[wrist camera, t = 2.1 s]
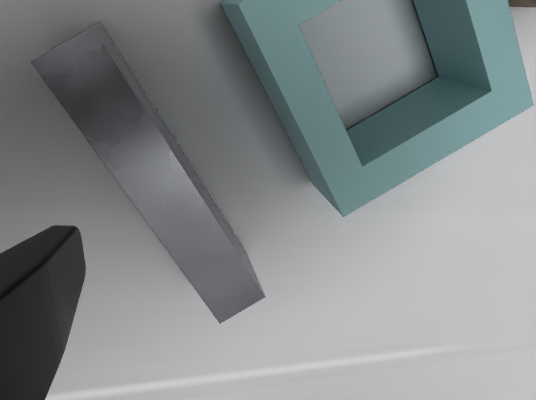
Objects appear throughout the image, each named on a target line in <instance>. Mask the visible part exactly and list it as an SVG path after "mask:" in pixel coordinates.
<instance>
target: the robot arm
mask: <svg viewBox="0 0 536 400" xmlns="http://www.w3.org/2000/svg"><path fill="white" fill-rule="evenodd" d="M85 271H86V266H85V259H84V252H83V245H82V239H81V233H80V231H79V229H78V228H77V227H76V226H60V225H55V226H52V227H50V228H48V229H46V230H44V231H42V232H40V233H38V234H36V235H34V236H33V237H31V238H29V239H27V240H25V241H23V242H21V243H19V244H17V245H15V246H14V247H12V248H10V249H8V250H6V251H4V252H2V253H0V400H45V398H46V396H47V394H48V391H49V389H50V386H51V384H52V381H53V379H54V376H55V374H56V372H57V369H58V367H59V364H60V362H61V359H62V356H63V354H64V351H65V347H66V344H67V341H68V337H69V334H70V330H71V326H72V323H73V319H74V315H75V312H76V308H77V304H78V301H79V297H80V293H81V290H82V286H83V282H84V278H85Z"/></svg>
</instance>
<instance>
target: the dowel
mask: <svg viewBox="0 0 536 400" xmlns="http://www.w3.org/2000/svg"><path fill="white" fill-rule="evenodd" d="M508 4H509V6H513V7H536V0H508Z"/></svg>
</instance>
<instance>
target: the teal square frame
mask: <svg viewBox="0 0 536 400" xmlns="http://www.w3.org/2000/svg"><path fill="white" fill-rule="evenodd" d="M339 1H341V0H224V1H223V2H221V5H222V7H223V9H224V11H225V13H226V15H227V17H228V19H229V21H230V23H231V25H232V27H233V29H234V31H235V33H236V35H237V36H238V38H239V40H240V42H241V44H242V46H243V48H244V50H245V52H246V54H247V56H248V58H249V60H250V62H251V64H252V66H253V68H254V70H255V72H256V74H257V76H258V78H259V80H260V82H261V83H262V85H263V87H264V89H265V91H266V93H267V95H268V97H269V99H270V101H271V103H272V105H273V107H274V109H275V111H276V113H277V115H278V117H279V119H280V121H281V123H282V125H283V127H284V129H285V130H286V132H287V134H288V136H289V138H290V140H291V142H292V144H293V146H294V148H295V150H296V152H297V154H298V156H299V158H300V160H301V162H302V164H303V166H304V168H305V170H306V172H307V174H308V175H309V177H310V179H311V181H312V183H313V185H314V186H315V187H316V188H317V189H318V190H319V191H320V192H321V194H322V195H323V196H324V197H325V198H326V199H327V200H328V201H329V202H330V203H331V204H332V205H333V206H334V207H335V208H336V209H337V211H338V212H339V213H340V214H341V215H342V216H343V217H344V216H346V215H348V214H349V213H351V212H353V211H354V210H356V209H358V208H359V207H361V206H363V205H365V204H366V203H368V202H370V201H371V200H373V199H375V198H377V197H378V196H380V195H382V194H383V193H385V192H387V191H388V190H390V189H392V188H394V187H395V186H397V185H399V184H400V183H402V182H404V181H405V180H407V179H409V178H411V177H412V176H414V175H416V174H417V173H419V172H421V171H423V170H424V169H426V168H428V167H429V166H431V165H433V164H434V163H436V162H438V161H440V160H441V159H443V158H445V157H446V156H448V155H450V154H451V153H453V152H455V151H457V150H458V149H460V148H462V147H463V146H465V145H467V144H469V143H470V142H472V141H474V140H475V139H477V138H479V137H480V136H482V135H484V134H486V133H487V132H489V131H491V130H492V129H494V128H496V127H497V126H499V125H501V124H503V123H504V122H506V121H508V120H509V119H511V118H513V117H515V116H516V115H518V114H520V113H521V112H523V111H525V110H526V109H528V108H530V107H532V106H533V105H534V104H533V100H532V96H531V92H530V88H529V84H528V80H527V76H526V72H525V68H524V64H523V60H522V56H521V52H520V48H519V44H518V40H517V36H516V32H515V28H514V24H513V20H512V16H511V12H510V8H509V4H508V0H413V1H414V4H415V7H416V10H417V13H418V16H419V19H420V22H421V25H422V28H423V31H424V34H425V37H426V40H427V43H428V46H429V49H430V52H431V55H432V58H433V61H434V64H435V67H436V70H437V73H438V76H439V77H438V78H436V79H434V80H433V81H431V82H429V83H427V84H426V85H424V86H422V87H421V88H419V89H417V90H415V91H414V92H412V93H410V94H409V95H407V96H405V97H403V98H402V99H400V100H398V101H396V102H395V103H393V104H391V105H390V106H388V107H386V108H384V109H383V110H381V111H379V112H378V113H376V114H374V115H372V116H371V117H369V118H367V119H366V120H364V121H362V122H360V123H359V124H357V125H355V126H354V127H352V128H350V129H348V130H347V131H346V129H345V127H344V125H343V123H342V120H341V118H340V116H339V114H338V111H337V109H336V107H335V105H334V102H333V100H332V98H331V96H330V94H329V91H328V89H327V87H326V85H325V82H324V80H323V78H322V76H321V73H320V71H319V69H318V67H317V65H316V62H315V60H314V58H313V56H312V53H311V51H310V49H309V47H308V44H307V42H306V40H305V38H304V36H303V33H302V31H301V29H300V27H299V24H301V23H303V22H305V21H306V20H308V19H310V18H312V17H313V16H315V15H317V14H319V13H320V12H322V11H324V10H325V9H327V8H329V7H331V6H332V5H334V4H336V3H338V2H339Z"/></svg>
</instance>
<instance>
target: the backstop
mask: <svg viewBox="0 0 536 400" xmlns="http://www.w3.org/2000/svg"><path fill="white" fill-rule="evenodd" d="M31 63H32V64H33V66H34V67H35V69H36V70H37V71H38V73H39V74H40V76H41V77H42V78H43V80H44V81H45V82H46V84H47V85H48V87H49V88H50V89H51V91H52V92H53V94H54V95H55V96H56V98H57V99H58V100H59V102H60V103H61V105H62V106H63V107H64V109H65V110H66V111H67V113H68V114H69V116H70V117H71V118H72V120H73V121H74V123H75V124H76V125H77V127H78V128H79V129H80V131H81V132H82V134H83V135H84V136H85V138H86V139H87V141H88V142H89V143H90V145H91V146H92V147H93V149H94V150H95V152H96V153H97V154H98V156H99V157H100V159H101V160H102V161H103V163H104V164H105V165H106V167H107V168H108V170H109V171H110V172H111V174H112V175H113V177H114V178H115V179H116V181H117V182H118V183H119V185H120V186H121V188H122V189H123V190H124V192H125V193H126V194H127V196H128V197H129V199H130V200H131V201H132V203H133V204H134V206H135V207H136V208H137V210H138V211H139V212H140V214H141V215H142V217H143V218H144V219H145V221H146V222H147V224H148V225H149V226H150V228H151V229H152V230H153V232H154V233H155V235H156V236H157V237H158V239H159V240H160V242H161V243H162V244H163V246H164V247H165V248H166V250H167V251H168V253H169V254H170V255H171V257H172V258H173V260H174V261H175V262H176V264H177V265H178V266H179V268H180V269H181V271H182V272H183V273H184V275H185V276H186V278H187V279H188V280H189V282H190V283H191V284H192V286H193V287H194V289H195V290H196V291H197V293H198V294H199V295H200V297H201V298H202V300H203V301H204V302H205V304H206V305H207V307H208V308H209V309H210V311H211V312H212V313H213V315H214V316H215V318H216V319H217V320H218V322H219V323H222V322H224V321H225V320H227V319H229V318H230V317H232V316H234V315H235V314H237V313H239V312H241V311H242V310H244V309H246V308H247V307H249V306H251V305H252V304H254V303H256V302H258V301H259V300H261V299H263V298H264V297H265V295H264V292H263V290H262V288H261V285H260V283H259V281H258V278H257V276H256V274H255V272H254V269H253V267H252V265H251V262H250V260H249V258H248V255H247V253H246V252H245V250H244V249H243V247H242V245H241V244H240V242H239V241H238V239H237V237H236V236H235V234H234V233H233V231H232V230H231V228H230V226H229V225H228V223H227V222H226V220H225V218H224V217H223V215H222V214H221V212H220V211H219V209H218V207H217V206H216V204H215V203H214V201H213V199H212V198H211V196H210V195H209V193H208V191H207V190H206V188H205V187H204V185H203V184H202V182H201V180H200V179H199V177H198V176H197V174H196V172H195V171H194V169H193V168H192V166H191V165H190V163H189V161H188V160H187V158H186V157H185V155H184V153H183V152H182V150H181V149H180V147H179V146H178V144H177V142H176V141H175V139H174V138H173V136H172V134H171V133H170V131H169V130H168V128H167V127H166V125H165V123H164V122H163V120H162V119H161V117H160V115H159V114H158V112H157V111H156V109H155V108H154V106H153V104H152V103H151V101H150V100H149V98H148V96H147V95H146V93H145V92H144V90H143V89H142V87H141V85H140V84H139V82H138V81H137V79H136V77H135V76H134V74H133V73H132V71H131V69H130V68H129V66H128V65H127V63H126V62H125V60H124V58H123V57H122V55H121V54H120V52H119V50H118V49H117V47H116V46H115V44H114V43H113V41H112V39H111V38H110V36H109V35H108V33H107V31H106V30H105V28H104V27H103V25H102V24H101V22H99V23H97V24H95V25H93V26H92V27H90V28H88V29H86V30H85V31H83V32H81V33H79V34H78V35H76V36H74V37H72V38H71V39H69V40H67V41H65V42H64V43H62V44H60V45H58V46H57V47H55V48H53V49H51V50H50V51H48V52H46V53H45V54H43V55H42V56H40V57H38V58H37V59H35V60H34V61H32V62H31Z"/></svg>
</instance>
